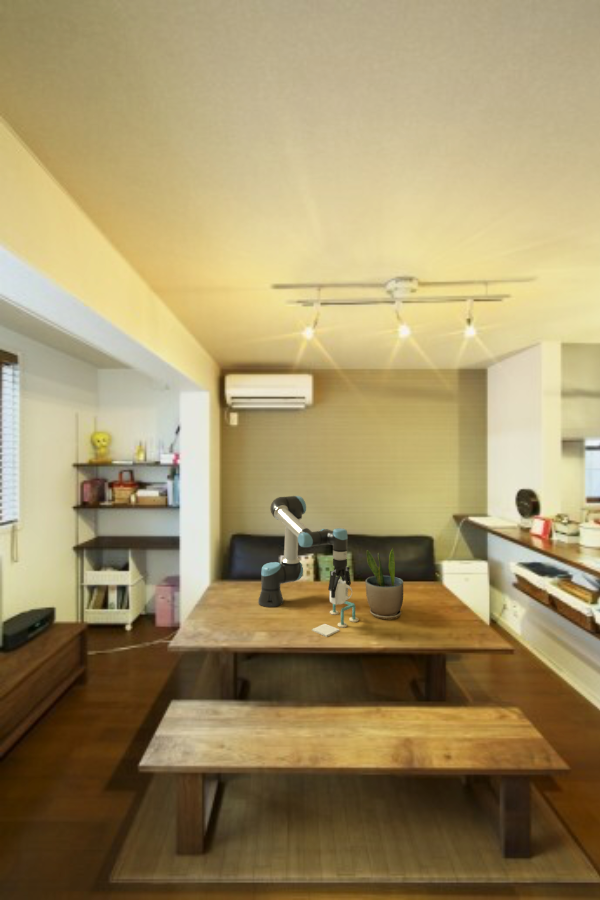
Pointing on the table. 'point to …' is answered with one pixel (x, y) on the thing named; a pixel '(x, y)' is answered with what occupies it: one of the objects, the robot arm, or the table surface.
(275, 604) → the robot arm
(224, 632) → the table surface
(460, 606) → the table surface
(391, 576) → the potted plant
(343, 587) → the mug
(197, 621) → the table surface
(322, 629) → the coaster
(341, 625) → the wire course
